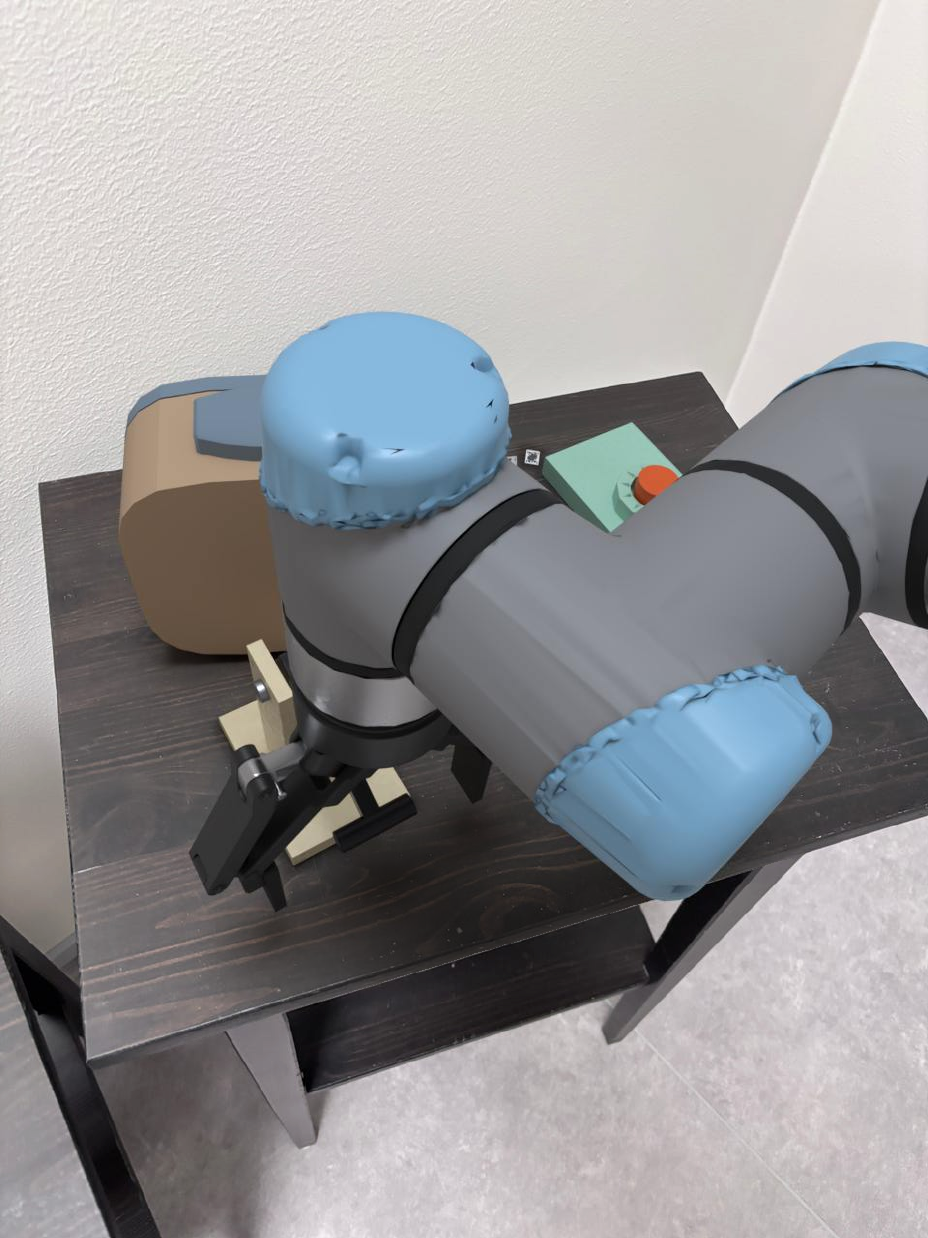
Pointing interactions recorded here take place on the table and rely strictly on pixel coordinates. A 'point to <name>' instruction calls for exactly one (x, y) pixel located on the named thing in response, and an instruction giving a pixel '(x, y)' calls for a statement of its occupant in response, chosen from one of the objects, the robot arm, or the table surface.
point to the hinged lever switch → (272, 729)
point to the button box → (604, 474)
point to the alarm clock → (200, 516)
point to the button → (652, 482)
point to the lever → (363, 803)
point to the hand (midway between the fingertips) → (373, 835)
